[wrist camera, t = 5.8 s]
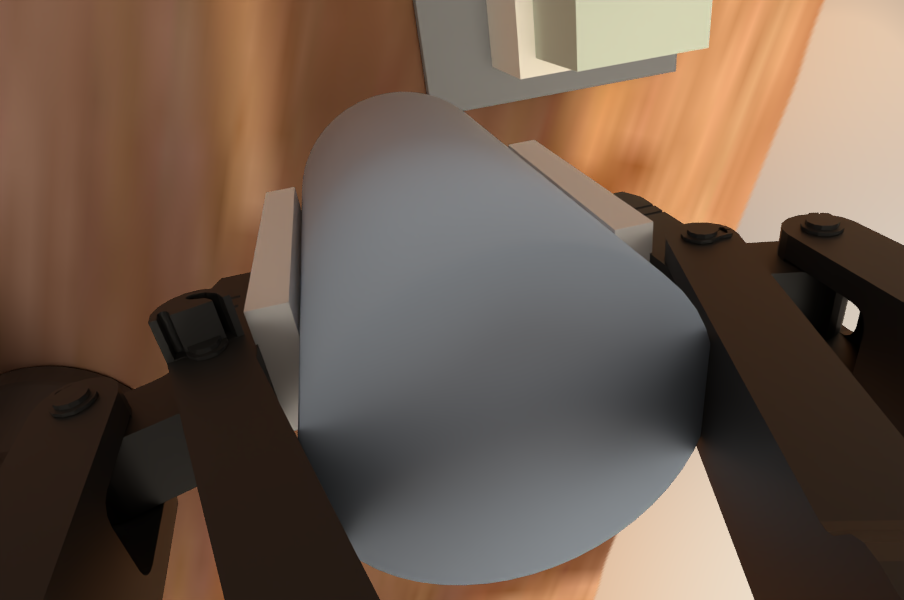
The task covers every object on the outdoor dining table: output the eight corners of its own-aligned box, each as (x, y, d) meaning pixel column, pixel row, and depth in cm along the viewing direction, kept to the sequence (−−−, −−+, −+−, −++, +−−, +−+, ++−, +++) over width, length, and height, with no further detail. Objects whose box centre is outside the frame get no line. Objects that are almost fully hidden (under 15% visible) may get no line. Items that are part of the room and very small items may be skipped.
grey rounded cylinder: (329, 303, 19) (353, 626, 9) (276, 112, 16) (234, 305, 6) (508, 263, 20) (697, 526, 10) (490, 74, 17) (734, 196, 7)
